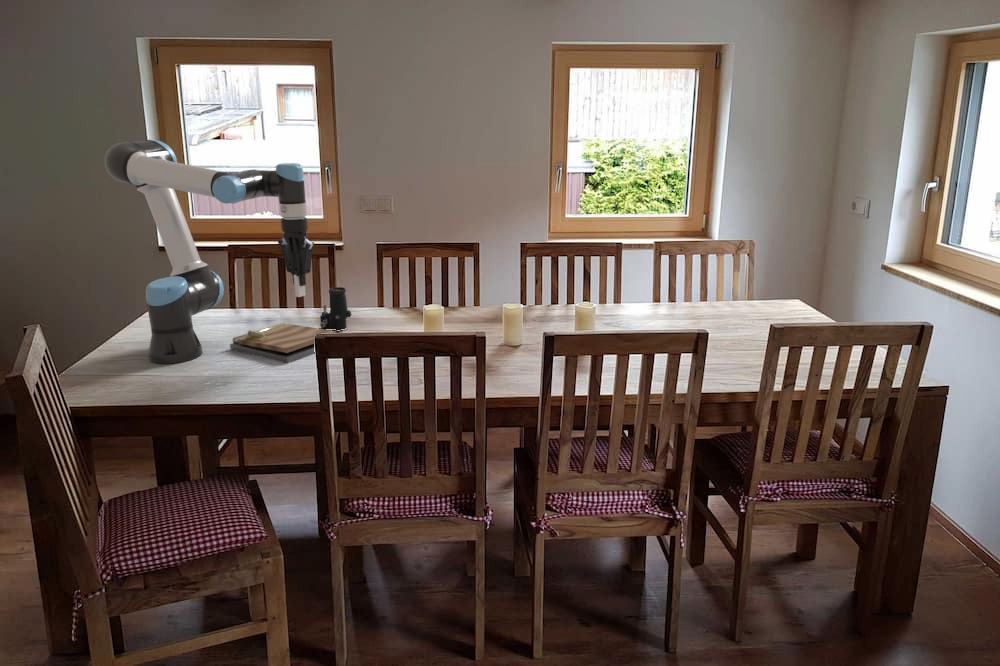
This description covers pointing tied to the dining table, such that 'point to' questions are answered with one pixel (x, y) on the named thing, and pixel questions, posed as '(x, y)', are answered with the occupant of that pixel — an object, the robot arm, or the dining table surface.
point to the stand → (271, 353)
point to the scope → (335, 310)
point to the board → (283, 338)
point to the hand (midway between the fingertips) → (300, 295)
